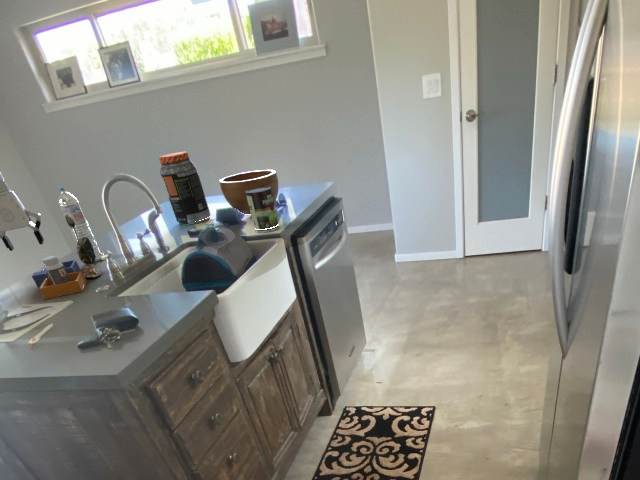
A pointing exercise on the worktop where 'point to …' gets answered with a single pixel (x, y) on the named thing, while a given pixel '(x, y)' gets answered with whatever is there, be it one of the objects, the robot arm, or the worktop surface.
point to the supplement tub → (184, 188)
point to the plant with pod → (85, 252)
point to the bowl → (247, 187)
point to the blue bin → (69, 266)
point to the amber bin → (63, 286)
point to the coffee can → (262, 209)
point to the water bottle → (77, 219)
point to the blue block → (40, 277)
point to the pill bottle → (56, 270)
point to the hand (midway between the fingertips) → (27, 246)
